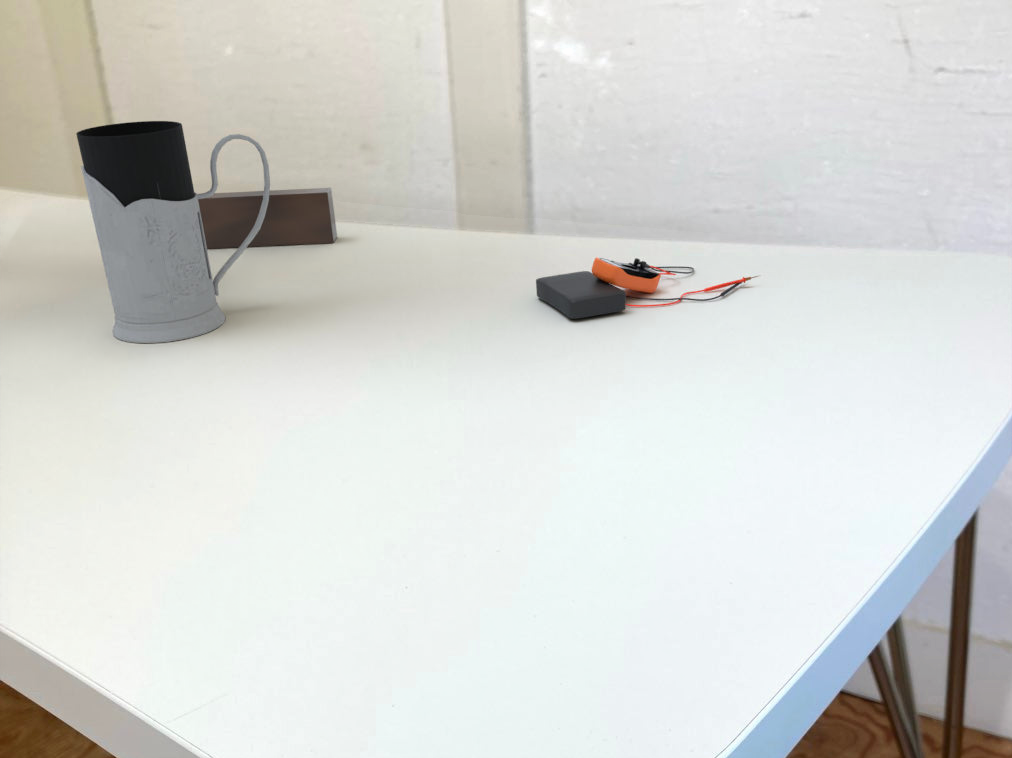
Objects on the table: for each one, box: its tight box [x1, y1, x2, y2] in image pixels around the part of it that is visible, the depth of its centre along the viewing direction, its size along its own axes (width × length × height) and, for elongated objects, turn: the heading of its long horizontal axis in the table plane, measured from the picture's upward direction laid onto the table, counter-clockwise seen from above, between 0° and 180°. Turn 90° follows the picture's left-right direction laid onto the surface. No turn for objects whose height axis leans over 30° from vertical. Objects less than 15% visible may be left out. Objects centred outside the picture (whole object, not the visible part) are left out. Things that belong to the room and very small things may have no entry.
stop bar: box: [198, 187, 338, 250], centre depth 107 cm, size 14×2×5 cm, turn 90°
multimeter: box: [535, 256, 761, 319], centre depth 87 cm, size 18×12×3 cm, turn 107°
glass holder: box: [75, 120, 271, 344], centre depth 83 cm, size 9×14×15 cm, turn 117°
